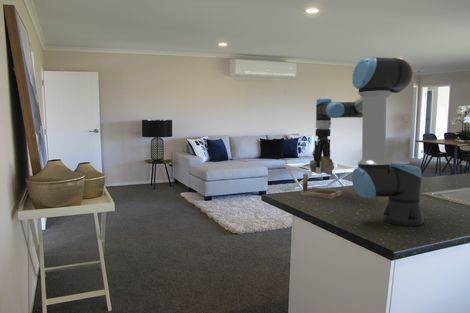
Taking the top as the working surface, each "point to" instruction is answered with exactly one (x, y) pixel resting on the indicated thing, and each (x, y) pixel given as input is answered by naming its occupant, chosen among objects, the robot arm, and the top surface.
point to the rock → (323, 165)
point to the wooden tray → (318, 190)
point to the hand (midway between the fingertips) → (321, 172)
